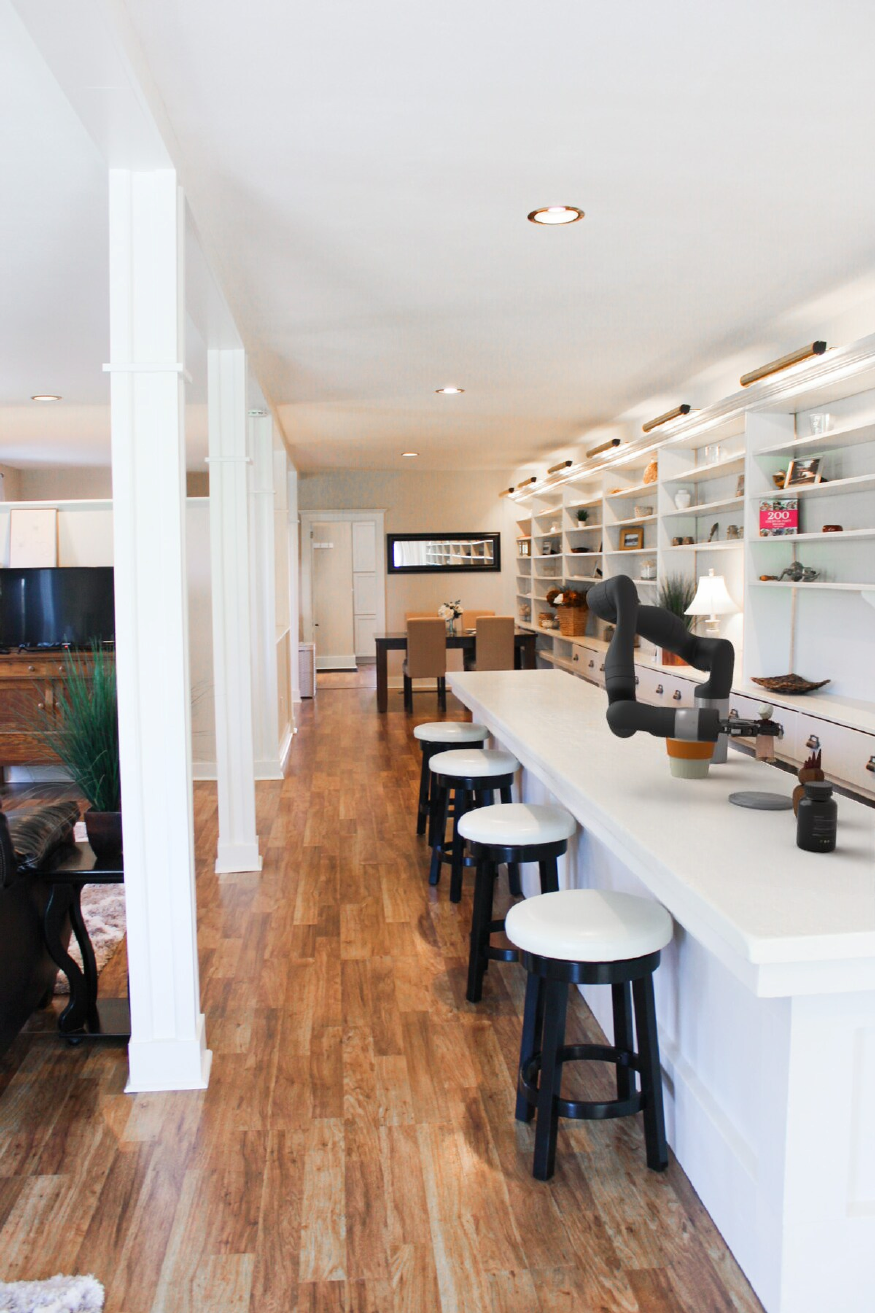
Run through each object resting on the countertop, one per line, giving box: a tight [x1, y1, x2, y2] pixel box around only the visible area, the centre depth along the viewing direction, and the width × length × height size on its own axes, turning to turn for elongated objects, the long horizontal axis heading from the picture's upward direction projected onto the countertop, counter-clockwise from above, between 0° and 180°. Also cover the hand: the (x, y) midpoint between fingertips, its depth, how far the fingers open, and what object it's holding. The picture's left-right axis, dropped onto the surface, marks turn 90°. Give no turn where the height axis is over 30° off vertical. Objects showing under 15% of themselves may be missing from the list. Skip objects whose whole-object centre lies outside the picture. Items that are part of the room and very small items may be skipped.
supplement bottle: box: [795, 781, 839, 854], centre depth 172 cm, size 7×7×12 cm
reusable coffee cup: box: [665, 738, 715, 780], centre depth 235 cm, size 13×13×15 cm
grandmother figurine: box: [749, 702, 784, 763], centre depth 206 cm, size 8×4×13 cm, turn 72°
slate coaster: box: [728, 791, 793, 811], centre depth 208 cm, size 14×14×1 cm
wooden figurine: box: [791, 748, 826, 819], centre depth 191 cm, size 7×6×15 cm
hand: (778, 730), depth 205 cm, fingers closed on grandmother figurine, 2 cm apart
